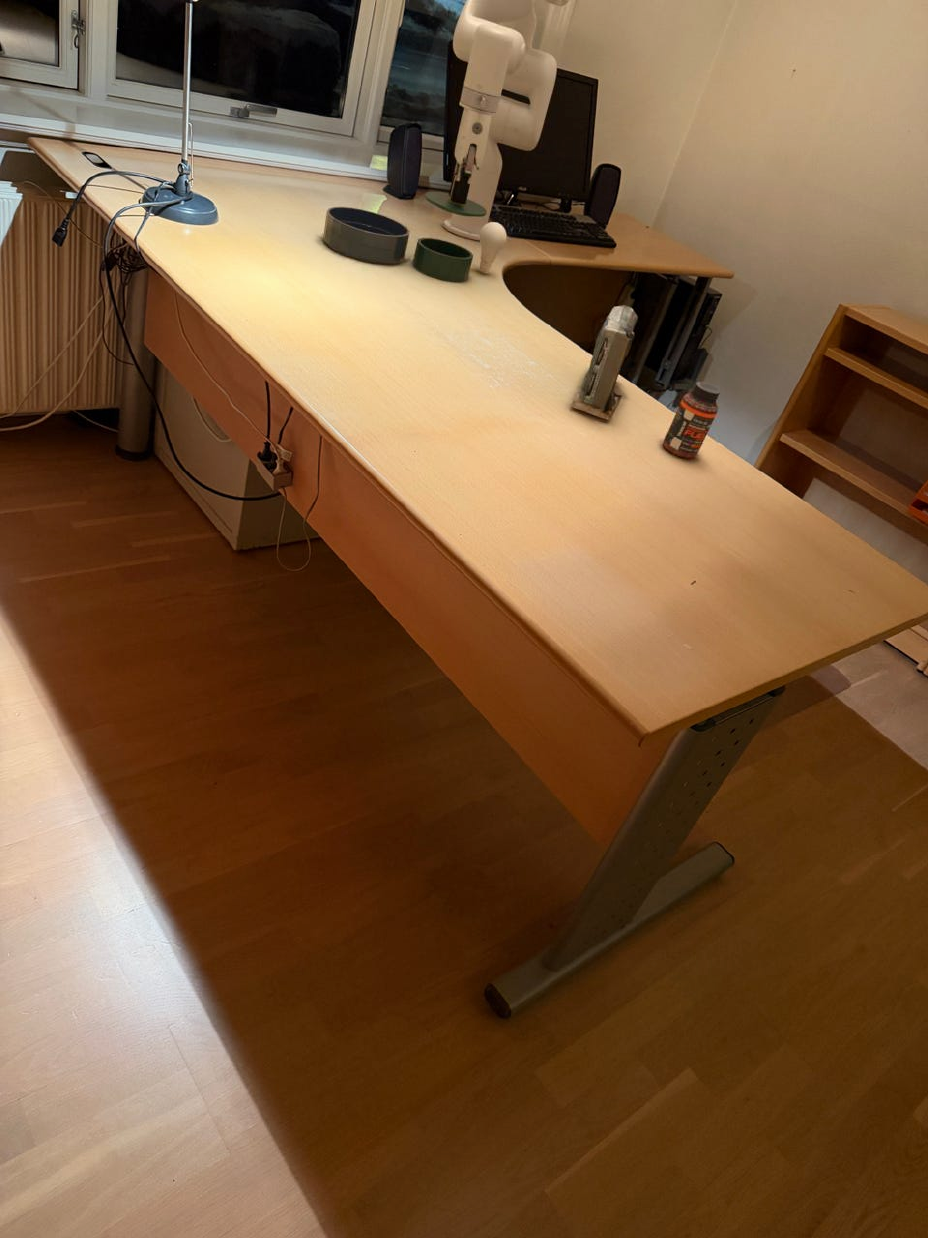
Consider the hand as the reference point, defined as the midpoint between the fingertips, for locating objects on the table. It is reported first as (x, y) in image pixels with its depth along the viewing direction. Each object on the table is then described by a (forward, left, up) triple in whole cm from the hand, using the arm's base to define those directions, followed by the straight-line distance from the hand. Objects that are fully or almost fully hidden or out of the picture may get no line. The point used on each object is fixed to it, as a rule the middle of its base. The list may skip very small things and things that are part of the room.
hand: (457, 199), depth 175 cm
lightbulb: (-7, +11, -15) cm, 20 cm away
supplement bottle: (+71, +34, -15) cm, 80 cm away
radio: (+54, +23, -15) cm, 61 cm away
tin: (0, 0, -15) cm, 15 cm away
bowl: (-2, -17, -15) cm, 23 cm away
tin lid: (0, 0, -1) cm, 1 cm away
